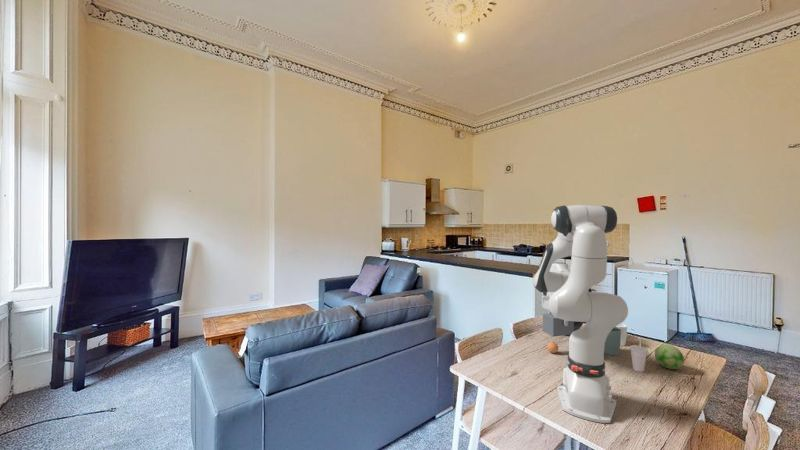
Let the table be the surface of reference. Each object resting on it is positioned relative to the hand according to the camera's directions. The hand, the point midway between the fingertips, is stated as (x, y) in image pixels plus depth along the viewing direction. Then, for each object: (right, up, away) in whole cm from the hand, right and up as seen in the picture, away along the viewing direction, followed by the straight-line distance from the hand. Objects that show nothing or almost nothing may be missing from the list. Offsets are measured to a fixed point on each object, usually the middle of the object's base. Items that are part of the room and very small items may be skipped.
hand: (558, 322), depth 154 cm
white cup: (+37, -15, +11) cm, 42 cm away
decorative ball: (+41, -15, -16) cm, 46 cm away
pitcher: (+19, -15, +24) cm, 34 cm away
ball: (-3, -12, -1) cm, 13 cm away
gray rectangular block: (0, -5, 0) cm, 5 cm away
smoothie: (+26, -15, -18) cm, 35 cm away
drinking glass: (+25, -15, +1) cm, 29 cm away
